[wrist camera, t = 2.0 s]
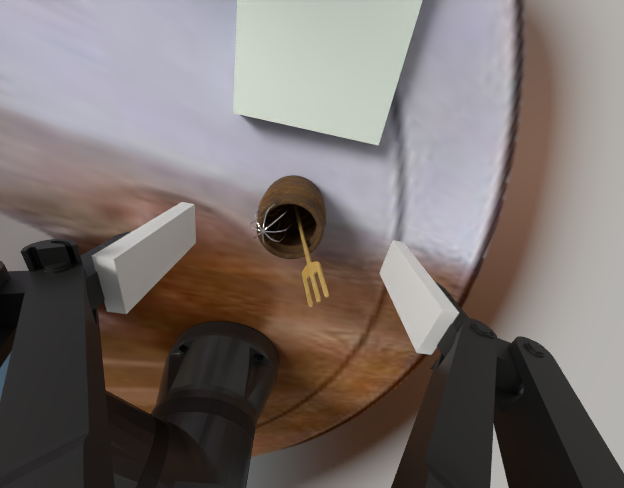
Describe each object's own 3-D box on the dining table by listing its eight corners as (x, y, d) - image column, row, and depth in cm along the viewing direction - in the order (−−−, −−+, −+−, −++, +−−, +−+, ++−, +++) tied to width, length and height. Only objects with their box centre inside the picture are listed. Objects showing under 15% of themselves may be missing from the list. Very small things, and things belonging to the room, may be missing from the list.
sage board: (372, 144, 21) (378, 145, 19) (239, 114, 20) (233, 113, 18) (439, -88, 15) (458, -117, 13) (253, -153, 13) (244, -195, 12)
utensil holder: (297, 160, 21) (288, 191, 11) (336, 210, 24) (360, 277, 13) (252, 198, 23) (205, 259, 12) (293, 242, 25) (283, 325, 15)
